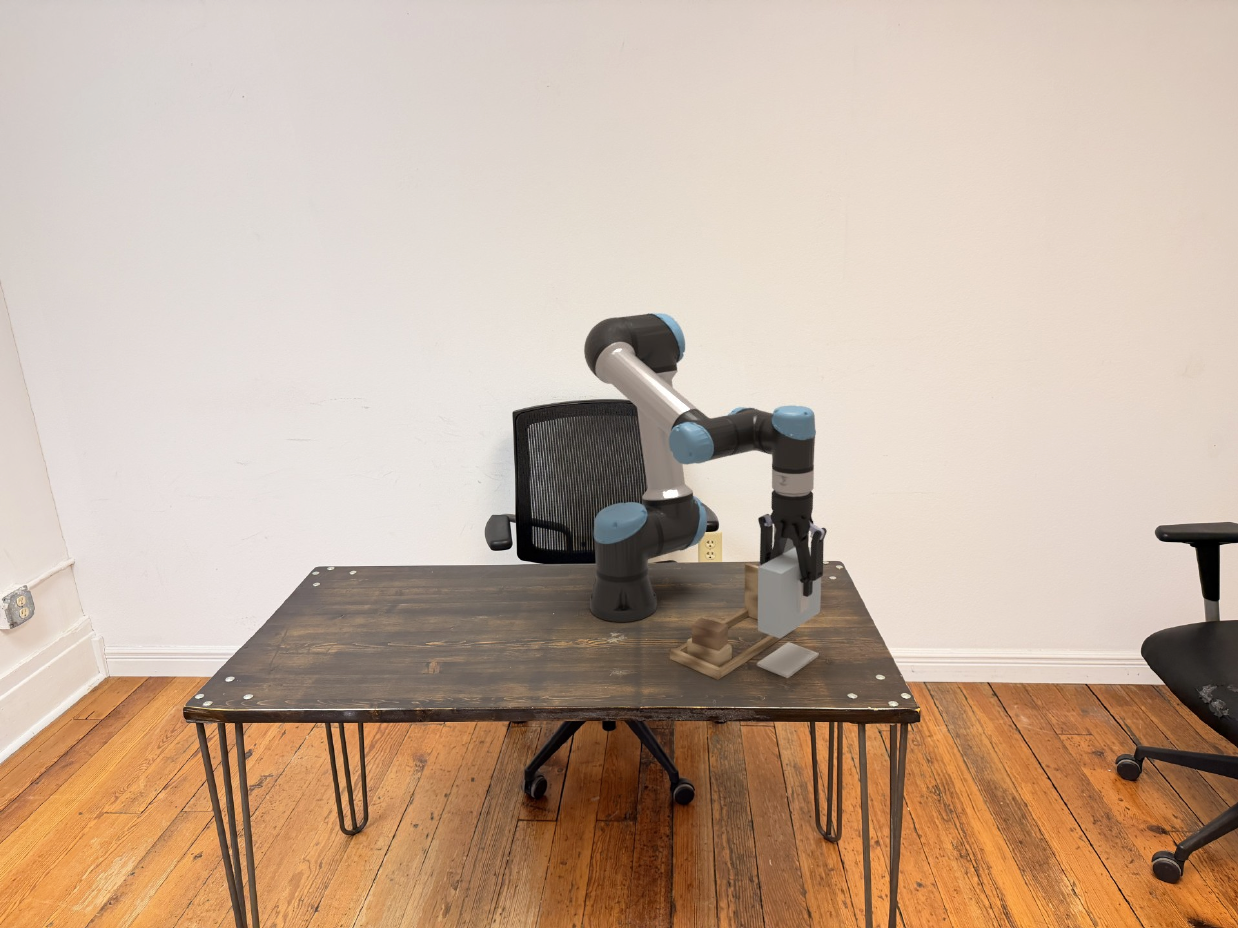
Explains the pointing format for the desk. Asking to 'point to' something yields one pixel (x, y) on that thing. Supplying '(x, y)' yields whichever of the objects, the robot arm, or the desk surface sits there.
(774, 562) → the grey rectangular block
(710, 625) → the offcut upper
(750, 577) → the rack
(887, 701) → the desk surface
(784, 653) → the mat
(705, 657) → the offcut lower
